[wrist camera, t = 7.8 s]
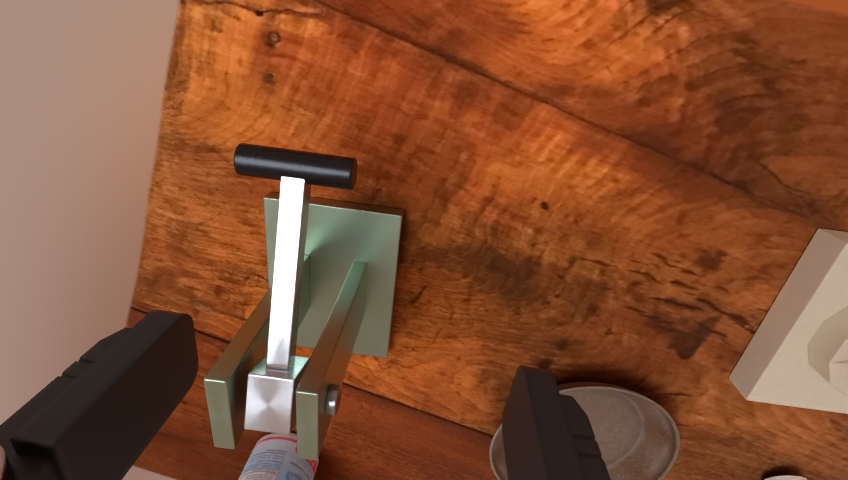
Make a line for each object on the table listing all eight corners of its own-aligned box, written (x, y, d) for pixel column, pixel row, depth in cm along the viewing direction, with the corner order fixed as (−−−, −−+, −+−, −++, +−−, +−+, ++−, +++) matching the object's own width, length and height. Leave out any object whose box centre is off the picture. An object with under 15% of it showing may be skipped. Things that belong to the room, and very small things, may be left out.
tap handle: (253, 145, 20) (228, 140, 17) (360, 159, 20) (350, 156, 17) (235, 398, 22) (211, 425, 19) (333, 411, 22) (321, 440, 19)
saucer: (691, 447, 36) (709, 477, 33) (538, 501, 40) (544, 530, 37) (619, 332, 31) (634, 357, 28) (454, 407, 35) (454, 434, 33)
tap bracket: (270, 191, 27) (139, 299, 16) (403, 209, 27) (369, 330, 16) (277, 333, 33) (183, 491, 21) (389, 348, 33) (355, 514, 21)
